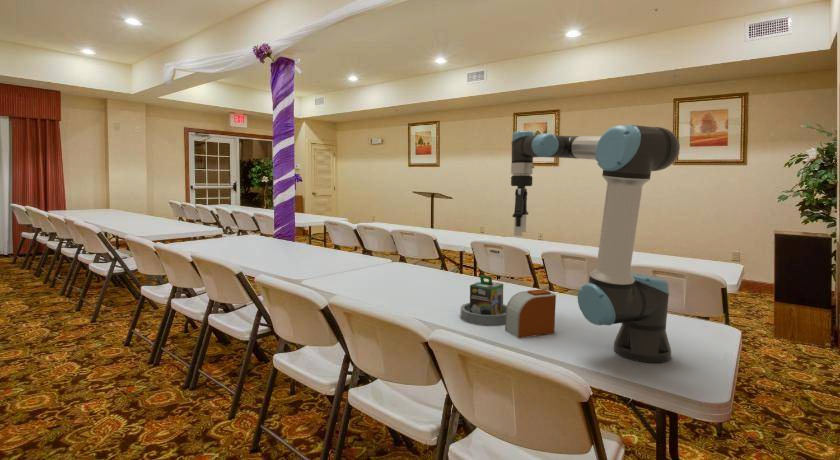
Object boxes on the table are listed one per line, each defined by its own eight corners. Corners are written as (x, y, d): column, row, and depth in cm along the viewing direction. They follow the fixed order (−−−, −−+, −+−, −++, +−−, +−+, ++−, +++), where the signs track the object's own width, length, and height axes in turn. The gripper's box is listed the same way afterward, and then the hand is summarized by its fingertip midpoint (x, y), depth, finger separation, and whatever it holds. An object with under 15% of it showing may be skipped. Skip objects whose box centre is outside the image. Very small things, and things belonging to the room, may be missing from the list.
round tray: (506, 328, 157) (507, 318, 157) (454, 321, 164) (455, 312, 163) (515, 313, 175) (515, 304, 174) (467, 308, 181) (468, 299, 181)
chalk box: (503, 314, 170) (504, 274, 168) (490, 320, 163) (491, 278, 161) (481, 309, 176) (482, 271, 174) (468, 315, 168) (469, 275, 167)
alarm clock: (541, 325, 161) (543, 287, 160) (556, 333, 153) (558, 293, 152) (504, 330, 156) (505, 290, 154) (518, 338, 148) (520, 296, 146)
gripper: (529, 174, 154) (527, 238, 156) (535, 175, 177) (533, 231, 179) (506, 174, 156) (505, 237, 158) (515, 175, 180) (513, 230, 182)
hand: (520, 234), depth 169 cm, fingers open, 13 cm apart
